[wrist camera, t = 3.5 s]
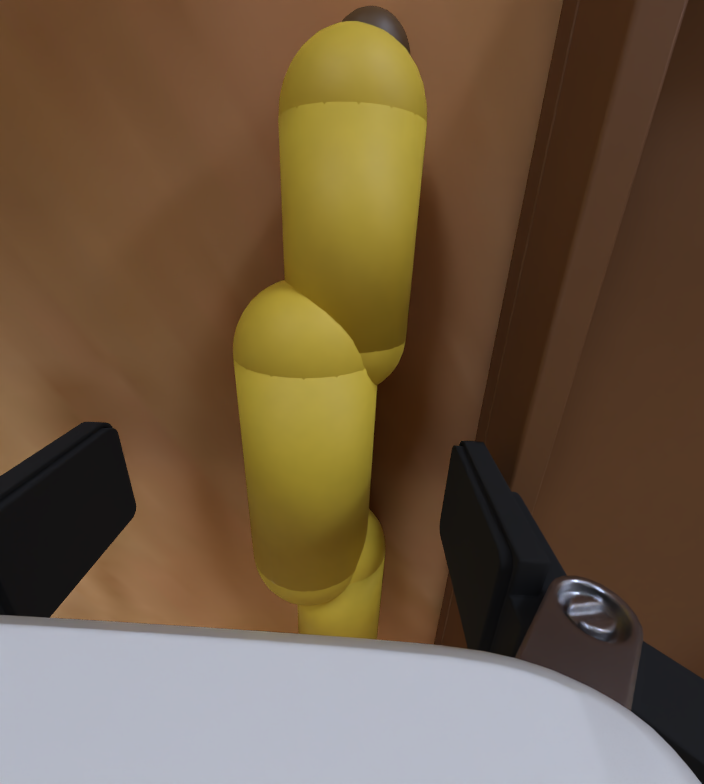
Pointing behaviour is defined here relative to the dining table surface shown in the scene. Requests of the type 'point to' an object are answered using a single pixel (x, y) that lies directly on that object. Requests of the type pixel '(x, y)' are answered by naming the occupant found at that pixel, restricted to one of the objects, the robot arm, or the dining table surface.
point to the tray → (611, 319)
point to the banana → (332, 319)
